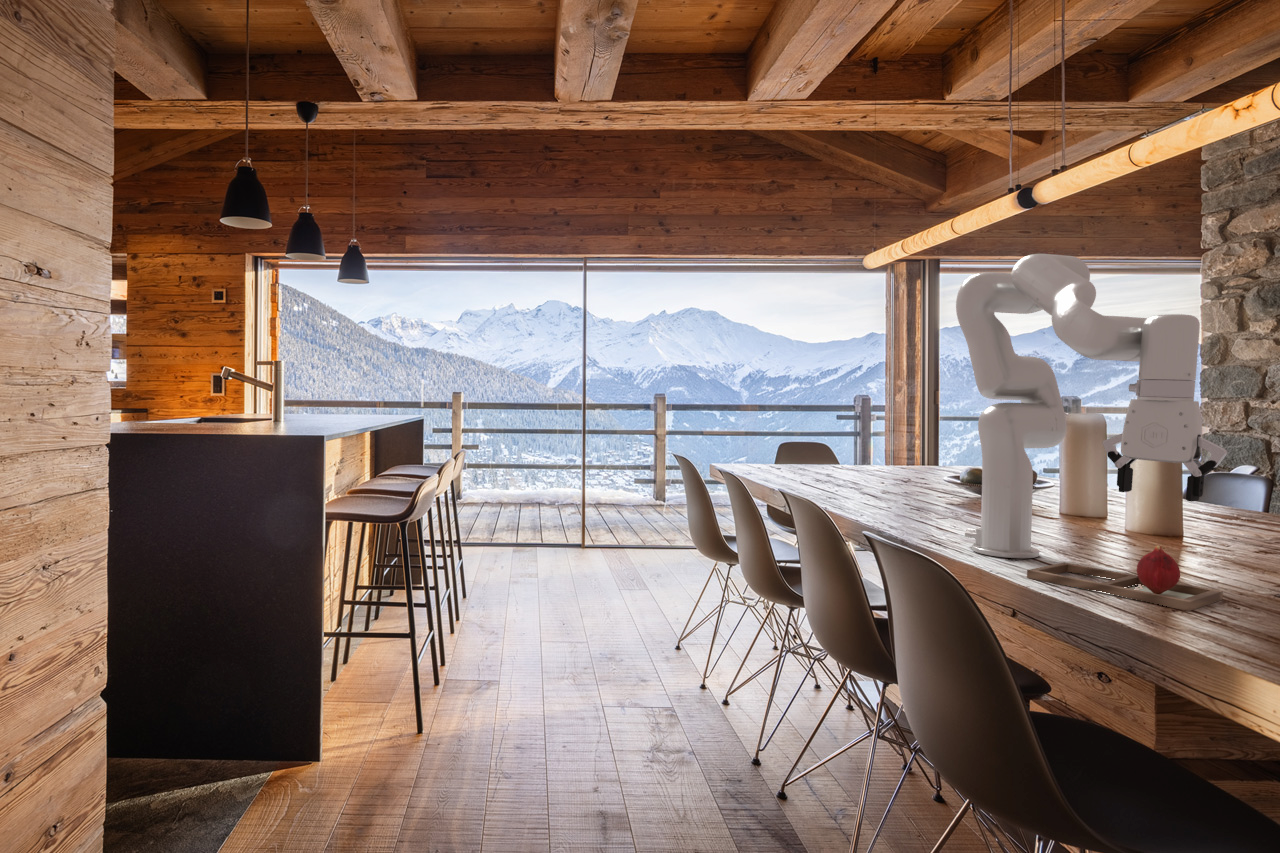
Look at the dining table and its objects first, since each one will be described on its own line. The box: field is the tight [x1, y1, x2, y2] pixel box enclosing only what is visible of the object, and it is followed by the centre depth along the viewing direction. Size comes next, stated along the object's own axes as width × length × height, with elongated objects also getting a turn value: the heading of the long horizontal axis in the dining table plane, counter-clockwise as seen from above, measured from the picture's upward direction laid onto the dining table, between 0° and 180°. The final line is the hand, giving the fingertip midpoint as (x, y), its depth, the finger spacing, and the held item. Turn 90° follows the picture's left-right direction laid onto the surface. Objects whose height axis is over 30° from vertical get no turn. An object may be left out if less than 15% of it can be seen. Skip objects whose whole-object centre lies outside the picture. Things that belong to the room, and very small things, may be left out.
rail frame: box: [1026, 562, 1224, 612], centre depth 123 cm, size 25×13×1 cm, turn 33°
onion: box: [1136, 545, 1181, 594], centre depth 118 cm, size 6×6×8 cm
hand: (1157, 495), depth 119 cm, fingers open, 9 cm apart
